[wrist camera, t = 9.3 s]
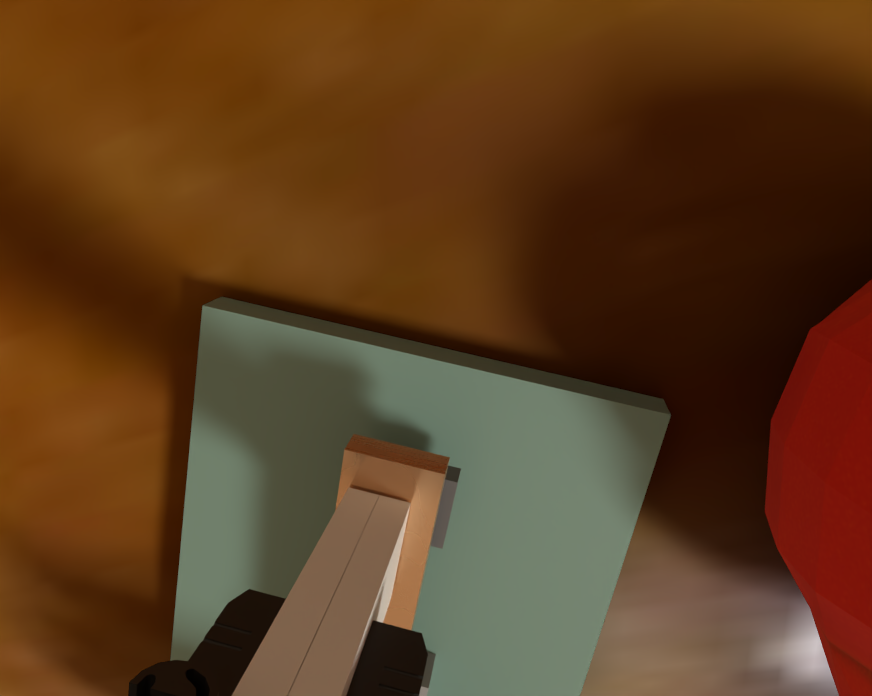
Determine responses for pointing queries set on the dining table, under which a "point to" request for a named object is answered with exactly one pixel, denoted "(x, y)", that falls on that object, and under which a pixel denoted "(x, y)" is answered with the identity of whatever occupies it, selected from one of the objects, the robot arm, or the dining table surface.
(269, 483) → the board
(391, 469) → the strap
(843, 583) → the tomato
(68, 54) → the dining table surface
